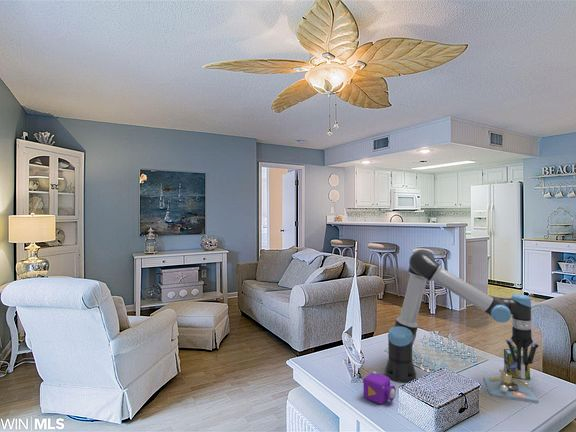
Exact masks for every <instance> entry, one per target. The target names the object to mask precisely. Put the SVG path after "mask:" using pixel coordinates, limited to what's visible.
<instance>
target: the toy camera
mask: <svg viewBox="0 0 576 432" xmlns="http://www.w3.org/2000/svg"><path fill="white" fill-rule="evenodd" d="M362 388H363V397H364V398H365V399H366V400H369V401H371V402H374V403H376V404H378V405H379V404H380V405H382V404H384V403H385V402H386V401H387V400H389V401H390V402H393V401H394V399H395V397H396V392H397V390H396V386H395V385H391V379H390V378H389V377H387V376H386V375H385V374H380V373H377V371H372V372H371V373H370V374H368V375H366V376H365V377H364V378H363V387H362Z"/></svg>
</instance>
